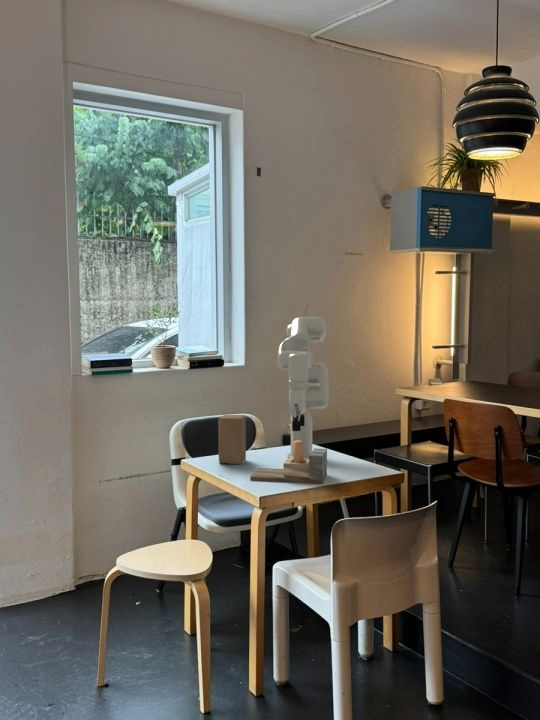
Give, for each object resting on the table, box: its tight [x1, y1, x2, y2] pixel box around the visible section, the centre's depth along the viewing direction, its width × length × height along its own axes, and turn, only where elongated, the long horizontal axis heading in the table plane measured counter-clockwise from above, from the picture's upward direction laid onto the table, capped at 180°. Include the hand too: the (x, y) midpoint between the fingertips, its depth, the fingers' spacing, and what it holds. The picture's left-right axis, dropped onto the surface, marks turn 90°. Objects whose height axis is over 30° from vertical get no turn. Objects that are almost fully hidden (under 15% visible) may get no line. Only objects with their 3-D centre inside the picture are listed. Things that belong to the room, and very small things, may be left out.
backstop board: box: [249, 448, 328, 485], centre depth 271 cm, size 14×28×10 cm, turn 78°
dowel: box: [293, 440, 304, 463], centre depth 270 cm, size 4×4×13 cm
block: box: [217, 414, 247, 465], centre depth 298 cm, size 10×10×20 cm
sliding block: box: [283, 457, 309, 477], centre depth 271 cm, size 10×10×5 cm
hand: (298, 428), depth 270 cm, fingers open, 9 cm apart
